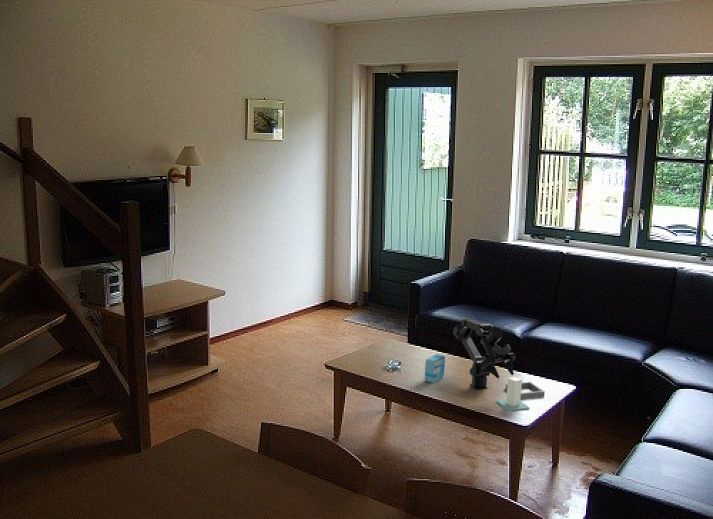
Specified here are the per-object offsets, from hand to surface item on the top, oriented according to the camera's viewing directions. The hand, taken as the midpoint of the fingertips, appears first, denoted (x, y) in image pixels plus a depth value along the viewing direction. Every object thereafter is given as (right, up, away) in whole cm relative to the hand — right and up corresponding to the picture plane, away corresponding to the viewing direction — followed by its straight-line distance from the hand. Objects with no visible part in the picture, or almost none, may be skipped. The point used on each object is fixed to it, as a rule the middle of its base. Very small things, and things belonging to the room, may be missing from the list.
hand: (505, 376), depth 329 cm
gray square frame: (+12, -10, +14) cm, 21 cm away
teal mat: (+3, -13, -3) cm, 14 cm away
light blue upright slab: (-31, -6, +27) cm, 42 cm away
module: (+3, -12, -3) cm, 13 cm away
